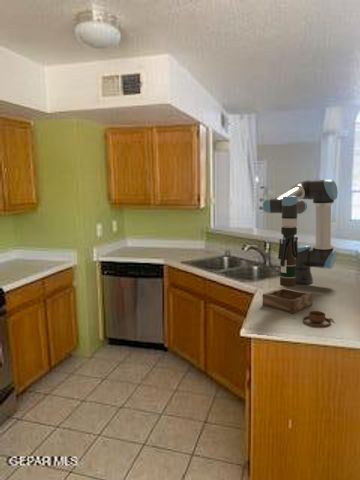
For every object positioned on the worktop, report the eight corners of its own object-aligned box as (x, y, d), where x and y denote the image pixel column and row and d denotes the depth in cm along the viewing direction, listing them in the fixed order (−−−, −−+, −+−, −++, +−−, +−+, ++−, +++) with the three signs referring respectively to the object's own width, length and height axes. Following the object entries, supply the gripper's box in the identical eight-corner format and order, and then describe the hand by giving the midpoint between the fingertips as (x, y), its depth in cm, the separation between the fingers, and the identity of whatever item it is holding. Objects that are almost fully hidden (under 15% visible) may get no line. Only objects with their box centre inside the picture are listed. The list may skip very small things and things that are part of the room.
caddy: (281, 298, 208) (281, 287, 207) (312, 305, 195) (312, 293, 194) (262, 305, 195) (262, 294, 195) (294, 313, 182) (294, 301, 182)
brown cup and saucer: (302, 329, 164) (302, 316, 163) (286, 314, 183) (286, 302, 183) (341, 327, 165) (342, 314, 164) (321, 312, 184) (322, 301, 184)
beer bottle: (278, 283, 197) (279, 237, 194) (293, 283, 197) (294, 237, 194) (281, 287, 190) (282, 239, 187) (297, 287, 190) (298, 239, 186)
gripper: (292, 224, 199) (291, 267, 202) (271, 227, 185) (270, 273, 188) (306, 225, 194) (304, 269, 197) (284, 228, 180) (283, 275, 183)
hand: (287, 271), depth 193 cm, fingers closed on beer bottle, 8 cm apart
